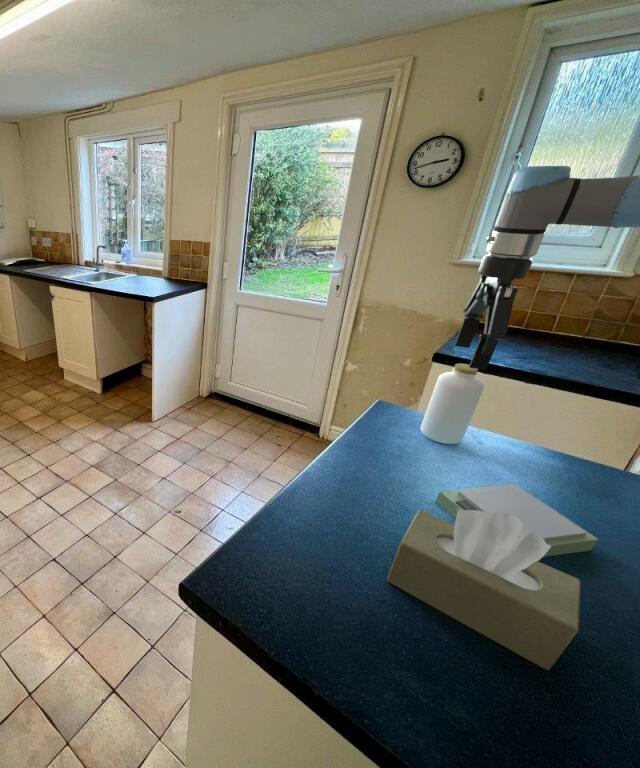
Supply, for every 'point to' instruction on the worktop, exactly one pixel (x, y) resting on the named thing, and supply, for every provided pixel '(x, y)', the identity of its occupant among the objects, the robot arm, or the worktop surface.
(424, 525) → the tissue box
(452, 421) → the white bottle
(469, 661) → the worktop surface
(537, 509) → the kitchen scale
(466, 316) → the robot arm
